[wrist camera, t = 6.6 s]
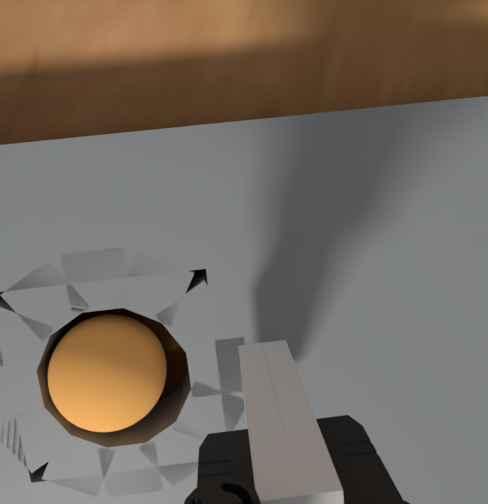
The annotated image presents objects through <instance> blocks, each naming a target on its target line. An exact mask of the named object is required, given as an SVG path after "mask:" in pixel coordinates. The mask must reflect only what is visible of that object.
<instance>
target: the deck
mask: <svg viewBox="0 0 488 504" xmlns="http://www.w3.org/2000/svg"><path fill="white" fill-rule="evenodd" d="M119 308H125V309H127V310H130V311H132V312H135V313H137V314H140V315H142V316H145V317H148V318H150V319H153V320H155V321H158V322H160V323H162V324H163V325H164V327H165V328H166V329H167V330H168V331H169V333H170V334H171V335H172V336H173V337H174V339H175V340H176V341H177V342H178V344H179V345H180V346H181V347H182V348H183V350H184V351H185V352H186V355H187V362H188V369H189V371H188V373H187V375H186V377H185V379H184V382H183V384H182V386H181V387H179V388H178V389H177V390H175V391H174V392H172V393H171V394H169V395H168V396H167V397H165V398H164V399H162V400H161V401H159V402H158V403H157V404H155V405H154V407H153V408H152V409H151V410H150V412H149V413H148V414H147V415H146V416H145V417H143V418H142V419H141V420H139V421H138V422H136V423H135V424H133V425H131V426H129V427H127V428H124V429H121V430H117V431H112V432H94V431H89V430H85V429H83V428H80V427H78V426H76V425H74V424H73V423H71V422H70V421H68V420H67V419H66V418H65V417H64V416H63V415H62V414H61V413H60V412H59V410H58V409H57V408H56V406H55V404H54V402H53V400H52V398H51V395H50V392H49V387H48V367H49V363H50V359H51V356H52V354H53V352H54V349H55V348H56V346H57V344H58V343H59V341H60V340H61V339H62V337H63V335H64V333H65V330H66V328H67V325H68V323H69V322H70V321H71V320H73V319H74V318H76V317H77V316H78V315H80V314H81V313H84V312H93V311H101V310H110V309H119ZM280 340H286V342H287V344H288V347H289V350H290V352H291V355H292V358H293V360H294V363H295V365H296V368H297V371H298V373H299V376H300V379H301V381H302V384H303V386H304V389H305V392H306V394H307V397H308V400H309V402H310V405H311V407H312V410H313V413H314V415H315V418H316V419H319V418H327V417H335V416H343V415H349V416H350V417H352V418H353V419H354V420H356V421H357V422H358V423H360V424H361V425H362V426H363V427H364V429H365V431H366V433H367V434H368V436H369V438H370V440H371V443H372V444H373V445H374V447H375V449H376V451H377V455H379V456H380V458H381V460H382V462H383V464H384V466H385V468H386V469H387V471H388V473H389V475H390V477H391V479H392V480H393V482H394V484H395V486H396V488H397V490H398V491H399V493H400V495H401V497H402V499H403V500H404V501H407V502H408V503H410V504H488V96H482V97H472V98H462V99H452V100H442V101H433V102H423V103H413V104H403V105H393V106H383V107H373V108H363V109H353V110H343V111H333V112H323V113H313V114H303V115H293V116H283V117H274V118H264V119H254V120H244V121H234V122H224V123H214V124H204V125H194V126H184V127H174V128H164V129H154V130H144V131H134V132H124V133H115V134H105V135H95V136H85V137H75V138H65V139H55V140H45V141H35V142H25V143H15V144H5V145H0V504H184V502H185V499H186V498H187V497H188V496H189V495H190V494H191V493H192V491H193V490H194V489H196V488H197V480H198V477H197V475H198V456H199V447H200V446H201V444H202V442H203V441H204V439H205V438H206V436H207V435H208V434H211V433H219V432H227V431H235V430H243V429H247V423H246V414H245V404H244V395H243V386H242V377H241V367H240V358H239V349H238V345H246V344H255V343H263V342H272V341H280Z"/></svg>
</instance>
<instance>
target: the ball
mask: <svg viewBox="0 0 488 504" xmlns="http://www.w3.org/2000/svg"><path fill="white" fill-rule="evenodd" d="M166 374H167V363H166V357H165V353H164V350H163V347H162V345H161V343H160V341H159V340H158V338H157V337H156V335H155V334H154V333H153V332H152V331H151V330H150V329H149V328H148V327H147V326H146V325H144V324H143V323H141V322H140V321H138V320H136V319H134V318H131V317H128V316H124V315H117V314H105V315H99V316H95V317H92V318H89V319H86V320H84V321H82V322H80V323H79V324H77V325H76V326H74V327H73V328H72V329H71V330H69V331H68V332H67V333H66V334H65V335H64V336H63V337H62V339H61V340H60V341H59V343H58V344H57V346H56V348H55V349H54V352H53V354H52V356H51V359H50V363H49V367H48V387H49V392H50V395H51V398H52V400H53V402H54V404H55V406H56V408H57V409H58V410H59V412H60V413H61V414H62V415H63V416H64V417H65V418H66V419H67V420H68V421H70V422H71V423H73V424H74V425H76V426H78V427H80V428H83V429H85V430H89V431H94V432H112V431H117V430H121V429H124V428H127V427H129V426H131V425H133V424H135V423H136V422H138V421H139V420H141V419H142V418H143V417H145V416H146V415H147V414H148V413H149V412H150V410H151V409H152V408H153V407H154V405H155V404H156V403H157V401H158V399H159V398H160V396H161V394H162V391H163V388H164V385H165V381H166Z"/></svg>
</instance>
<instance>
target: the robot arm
mask: <svg viewBox="0 0 488 504" xmlns="http://www.w3.org/2000/svg"><path fill="white" fill-rule="evenodd" d="M238 349H239V358H240V367H241V377H242V386H243V395H244V404H245V414H246V423H247V429H243V430H235V431H227V432H219V433H211V434H208V435H207V436H206V438H205V439H204V441H203V442H202V444H201V446H200V447H199V456H198V475H197V477H198V480H197V488H196V489H194V490H193V491H192V493H191V494H190V495H189V496H188V497H187V498H186V499H185V502H184V504H410V503H408V502H407V501H404V500H403V499H402V497H401V495H400V493H399V491H398V490H397V488H396V486H395V484H394V482H393V480H392V479H391V477H390V475H389V473H388V471H387V469H386V468H385V466H384V464H383V462H382V460H381V458H380V456H379V455H377V451H376V449H375V447H374V445H373V444H372V443H371V440H370V438H369V436H368V434H367V433H366V431H365V429H364V427H363V426H362V425H361V424H360V423H358V422H357V421H356V420H354V419H353V418H352V417H350V416H349V415H343V416H335V417H327V418H319V419H316V418H315V415H314V413H313V410H312V407H311V405H310V402H309V400H308V397H307V394H306V392H305V389H304V386H303V384H302V381H301V379H300V376H299V373H298V371H297V368H296V365H295V363H294V360H293V358H292V355H291V352H290V350H289V347H288V344H287V342H286V340H280V341H272V342H263V343H255V344H246V345H238Z"/></svg>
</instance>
